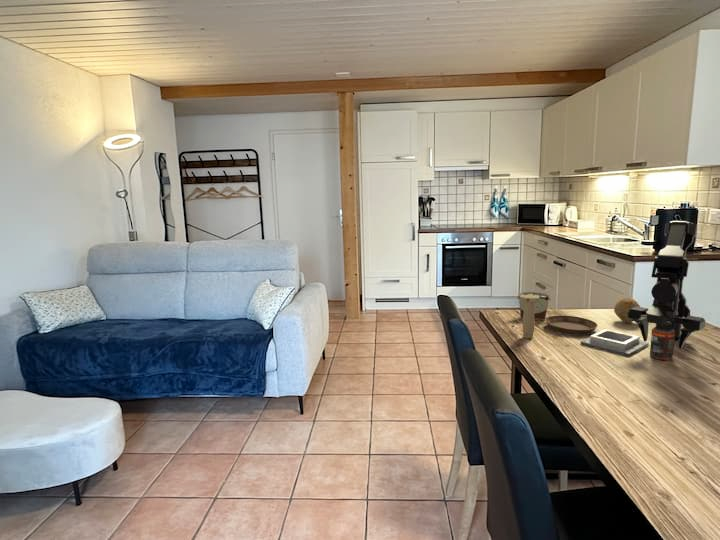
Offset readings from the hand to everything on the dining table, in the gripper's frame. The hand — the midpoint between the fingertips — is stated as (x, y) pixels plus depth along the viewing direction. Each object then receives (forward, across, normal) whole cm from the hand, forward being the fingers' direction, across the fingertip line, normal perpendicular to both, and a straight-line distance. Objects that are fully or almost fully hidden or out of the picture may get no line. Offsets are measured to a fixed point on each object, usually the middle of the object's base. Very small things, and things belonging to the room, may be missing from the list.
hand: (662, 344), depth 133 cm
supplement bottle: (+4, 0, 0) cm, 4 cm away
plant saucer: (+4, -32, +7) cm, 33 cm away
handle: (+4, -37, -13) cm, 39 cm away
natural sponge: (+4, -22, +30) cm, 37 cm away
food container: (+4, -50, +11) cm, 51 cm away
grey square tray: (+4, -14, +1) cm, 15 cm away
